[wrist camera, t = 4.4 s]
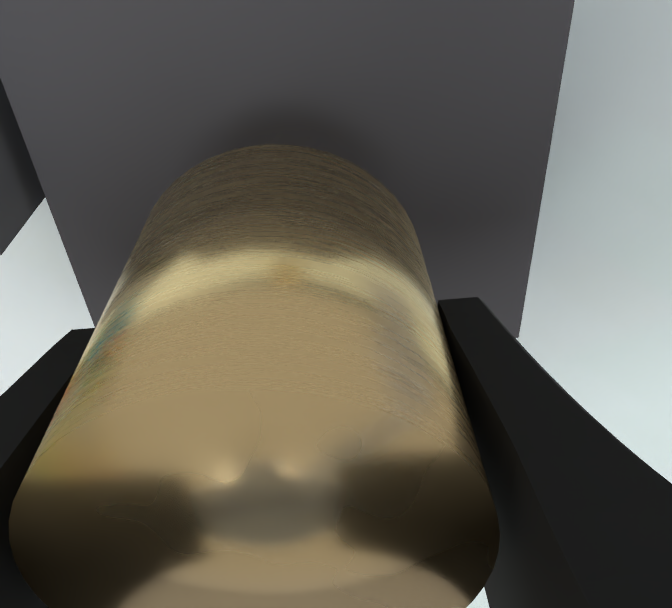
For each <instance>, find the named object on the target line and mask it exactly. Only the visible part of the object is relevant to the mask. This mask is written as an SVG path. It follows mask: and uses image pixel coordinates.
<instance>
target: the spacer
mask: <svg viewBox="0 0 672 608" xmlns="http://www.w3.org/2000/svg"><path fill="white" fill-rule="evenodd" d="M499 540H500V530H499V523H498V516H497V512H496V508H495V505H494V501H493V498H492V494H491V491H490V487H489V484H488V480H487V477H486V473H485V470H484V467H483V463H482V460H481V456H480V453H479V449H478V446H477V442H476V439H475V435H474V432H473V428H472V425H471V421H470V418H469V414H468V411H467V407H466V404H465V401H464V397H463V394H462V390H461V387H460V383H459V380H458V376H457V373H456V369H455V366H454V362H453V359H452V355H451V352H450V348H449V345H448V341H447V338H446V335H445V331H444V328H443V324H442V321H441V317H440V314H439V310H438V307H437V303H436V300H435V296H434V293H433V289H432V286H431V282H430V279H429V275H428V272H427V269H426V265H425V262H424V258H423V255H422V251H421V248H420V244H419V241H418V238H417V235H416V232H415V229H414V227H413V224H412V222H411V220H410V219H409V217H408V215H407V213H406V211H405V209H404V208H403V207H402V205H401V204H400V203H399V201H398V200H397V199H396V197H395V196H394V195H393V194H392V193H391V192H390V191H389V190H388V189H387V188H386V187H385V186H384V185H383V184H382V183H381V182H380V181H379V180H378V179H376V178H375V177H374V176H372V175H371V174H370V173H368V172H367V171H366V170H364V169H363V168H361V167H359V166H357V165H355V164H354V163H352V162H350V161H348V160H346V159H344V158H341V157H339V156H336V155H334V154H331V153H329V152H325V151H322V150H318V149H314V148H310V147H304V146H297V145H290V144H263V145H255V146H246V147H242V148H238V149H234V150H230V151H226V152H224V153H221V154H219V155H216V156H214V157H211V158H209V159H206V160H205V161H203V162H201V163H200V164H198V165H196V166H194V167H193V168H191V169H189V170H188V171H187V172H185V173H184V174H183V175H182V176H180V177H179V178H178V179H177V180H175V181H174V182H173V183H172V184H171V186H170V187H169V188H168V189H167V190H166V191H165V192H164V193H163V194H162V195H161V197H160V198H159V200H158V201H157V203H156V204H155V206H154V207H153V209H152V211H151V213H150V215H149V217H148V219H147V221H146V223H145V225H144V228H143V230H142V232H141V234H140V236H139V238H138V240H137V242H136V244H135V246H134V249H133V251H132V253H131V255H130V257H129V259H128V261H127V263H126V265H125V267H124V269H123V272H122V274H121V276H120V278H119V280H118V282H117V284H116V286H115V288H114V290H113V293H112V295H111V297H110V299H109V301H108V303H107V305H106V307H105V309H104V311H103V313H102V316H101V318H100V320H99V322H98V324H97V326H96V328H95V330H94V332H93V334H92V337H91V339H90V341H89V343H88V345H87V347H86V349H85V351H84V353H83V355H82V358H81V360H80V362H79V364H78V366H77V368H76V370H75V372H74V374H73V376H72V378H71V381H70V383H69V385H68V387H67V389H66V391H65V393H64V395H63V397H62V399H61V402H60V404H59V406H58V408H57V410H56V412H55V414H54V416H53V418H52V420H51V422H50V425H49V427H48V429H47V431H46V433H45V435H44V437H43V439H42V441H41V443H40V446H39V448H38V450H37V452H36V454H35V456H34V458H33V460H32V462H31V464H30V467H29V469H28V471H27V473H26V475H25V477H24V479H23V481H22V483H21V485H20V488H19V490H18V492H17V494H16V496H15V498H14V500H13V504H12V508H11V513H10V518H9V542H10V545H11V549H12V553H13V557H14V560H15V562H16V564H17V566H18V568H19V570H20V572H21V574H22V576H23V578H24V579H25V581H26V582H27V583H28V585H29V586H30V588H31V589H32V590H33V592H34V593H35V594H36V595H37V596H38V597H39V598H40V599H41V600H42V601H43V602H44V603H45V604H46V605H47V606H48V607H49V608H466V607H467V606H468V605H469V604H470V603H471V602H472V601H473V600H474V599H475V597H476V596H477V595H478V594H479V592H480V591H481V590H482V588H483V587H484V586H485V584H486V582H487V580H488V578H489V576H490V574H491V573H492V571H493V569H494V565H495V562H496V559H497V555H498V552H499Z"/></svg>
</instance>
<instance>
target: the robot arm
mask: <svg viewBox="0 0 672 608" xmlns="http://www.w3.org/2000/svg"><path fill="white" fill-rule="evenodd" d="M438 310H439V314H440V317H441V321H442V324H443V328H444V331H445V335H446V338H447V341H448V345H449V348H450V352H451V355H452V359H453V362H454V366H455V369H456V373H457V376H458V380H459V383H460V387H461V390H462V394H463V397H464V401H465V404H466V407H467V411H468V414H469V418H470V421H471V425H472V428H473V432H474V435H475V439H476V442H477V446H478V449H479V453H480V456H481V460H482V463H483V467H484V470H485V473H486V477H487V480H488V484H489V487H490V491H491V494H492V498H493V501H494V505H495V508H496V512H497V516H498V523H499V530H500V540H499V552H498V555H497V559H496V562H495V565H494V569H493V571H492V573H491V574H490V576H489V578H488V580H487V582H486V584H485V586H484V587H485V591H486V595H487V599H488V603H489V607H490V608H672V484H671V483H670V482H669V481H668V480H666V479H665V478H664V477H663V476H661V475H660V474H659V473H657V472H656V471H655V470H654V469H652V468H651V467H650V466H649V465H647V464H646V463H645V462H644V461H643V460H641V459H640V458H639V457H638V456H637V455H635V454H634V453H633V452H632V451H631V450H630V449H628V448H627V447H626V446H625V445H624V444H623V443H621V442H620V441H619V440H618V439H617V438H616V437H614V436H613V435H612V434H611V433H610V432H609V431H608V430H607V429H606V428H605V427H603V426H602V425H601V424H600V423H599V422H598V421H597V420H596V419H595V418H593V417H592V416H591V415H590V414H589V413H588V412H587V411H586V410H585V409H584V408H583V407H582V406H581V405H580V404H579V403H577V402H576V401H575V400H574V399H573V398H572V397H571V396H570V395H569V394H568V393H567V392H566V391H565V390H564V389H563V388H562V387H561V386H560V385H559V384H558V383H557V382H556V381H555V380H554V379H553V378H552V377H551V376H550V375H549V374H548V373H547V372H546V371H545V370H544V369H543V368H542V367H541V366H540V365H539V363H538V362H537V361H536V360H535V359H534V358H533V357H532V356H531V355H530V354H529V353H528V352H527V351H526V350H525V348H524V347H523V346H522V345H521V344H520V343H519V342H518V341H517V340H516V339H515V337H514V336H513V335H512V334H511V333H510V332H509V331H508V330H507V328H506V327H505V326H504V325H503V324H502V323H501V322H500V320H499V319H498V318H497V317H496V316H495V315H494V313H493V312H492V311H491V310H490V309H489V308H488V306H487V305H486V304H485V303H484V302H483V301H482V300H481V299H480V298H479V297H470V298H457V299H445V300H438ZM94 330H95V328H89V329H77V330H71V331H70V332H69V333H68V334H66V335H65V336H64V337H63V338H62V339H61V340H59V341H58V342H57V343H56V344H55V345H54V346H53V347H52V348H51V349H50V350H49V351H47V352H46V353H45V354H44V355H43V356H42V357H41V358H40V359H39V360H38V361H37V362H36V363H35V364H34V365H33V366H32V367H31V368H30V369H29V370H28V371H26V372H25V373H24V374H23V375H22V376H21V377H20V378H19V379H18V380H17V381H16V382H15V383H14V384H13V385H12V386H11V387H10V388H9V389H8V390H7V391H5V392H4V393H3V394H2V395H1V396H0V608H49V607H48V606H47V605H46V604H45V603H44V602H43V601H42V600H41V599H40V598H39V597H38V596H37V595H36V594H35V593H34V592H33V590H32V589H31V588H30V586H29V585H28V583H27V582H26V581H25V579H24V578H23V576H22V574H21V572H20V570H19V568H18V566H17V564H16V562H15V560H14V557H13V553H12V549H11V545H10V542H9V518H10V513H11V508H12V504H13V500H14V498H15V496H16V494H17V492H18V490H19V488H20V485H21V483H22V481H23V479H24V477H25V475H26V473H27V471H28V469H29V467H30V464H31V462H32V460H33V458H34V456H35V454H36V452H37V450H38V448H39V446H40V443H41V441H42V439H43V437H44V435H45V433H46V431H47V429H48V427H49V425H50V422H51V420H52V418H53V416H54V414H55V412H56V410H57V408H58V406H59V404H60V402H61V399H62V397H63V395H64V393H65V391H66V389H67V387H68V385H69V383H70V381H71V378H72V376H73V374H74V372H75V370H76V368H77V366H78V364H79V362H80V360H81V358H82V355H83V353H84V351H85V349H86V347H87V345H88V343H89V341H90V339H91V337H92V334H93V332H94Z"/></svg>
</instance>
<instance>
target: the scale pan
mask: <svg viewBox="0 0 672 608" xmlns="http://www.w3.org/2000/svg"><path fill="white" fill-rule="evenodd" d="M573 6H574V0H0V78H1V81H2V84H3V86H4V89H5V91H6V94H7V97H8V99H9V102H10V105H11V107H12V110H13V113H14V115H15V118H16V120H17V123H18V126H19V128H20V131H21V134H22V136H23V139H24V141H25V144H26V147H27V149H28V152H29V155H30V157H31V160H32V163H33V165H34V168H35V170H36V173H37V176H38V178H39V181H40V184H41V186H42V189H43V192H44V194H45V197H46V199H47V202H48V205H49V207H50V210H51V213H52V215H53V218H54V221H55V223H56V226H57V228H58V231H59V234H60V236H61V239H62V242H63V244H64V247H65V249H66V252H67V255H68V257H69V260H70V263H71V265H72V268H73V271H74V273H75V276H76V278H77V281H78V284H79V286H80V289H81V292H82V294H83V297H84V300H85V302H86V305H87V307H88V310H89V313H90V315H91V318H92V321H93V323H94V326H95V328H96V326H97V324H98V322H99V320H100V318H101V316H102V313H103V311H104V309H105V307H106V305H107V303H108V301H109V299H110V297H111V295H112V293H113V290H114V288H115V286H116V284H117V282H118V280H119V278H120V276H121V274H122V272H123V269H124V267H125V265H126V263H127V261H128V259H129V257H130V255H131V253H132V251H133V249H134V246H135V244H136V242H137V240H138V238H139V236H140V234H141V232H142V230H143V228H144V225H145V223H146V221H147V219H148V217H149V215H150V213H151V211H152V209H153V207H154V206H155V204H156V203H157V201H158V200H159V198H160V197H161V195H162V194H163V193H164V192H165V191H166V190H167V189H168V188H169V187H170V186H171V184H172V183H173V182H174V181H175V180H177V179H178V178H179V177H180V176H182V175H183V174H184V173H185V172H187V171H188V170H189V169H191V168H193V167H194V166H196V165H198V164H200V163H201V162H203V161H205V160H206V159H209V158H211V157H214V156H216V155H219V154H221V153H224V152H226V151H230V150H234V149H238V148H242V147H246V146H255V145H263V144H290V145H297V146H304V147H310V148H314V149H318V150H322V151H325V152H329V153H331V154H334V155H336V156H339V157H341V158H344V159H346V160H348V161H350V162H352V163H354V164H355V165H357V166H359V167H361V168H363V169H364V170H366V171H367V172H368V173H370V174H371V175H372V176H374V177H375V178H376V179H378V180H379V181H380V182H381V183H382V184H383V185H384V186H385V187H386V188H387V189H388V190H389V191H390V192H391V193H392V194H393V195H394V196H395V197H396V199H397V200H398V201H399V203H400V204H401V205H402V207H403V208H404V209H405V211H406V213H407V215H408V217H409V219H410V220H411V222H412V224H413V227H414V229H415V232H416V235H417V238H418V241H419V244H420V248H421V251H422V255H423V258H424V262H425V265H426V269H427V272H428V275H429V279H430V282H431V286H432V289H433V293H434V296H435V300H436V303H437V307H438V300H445V299H457V298H470V297H479V298H480V299H481V300H482V301H483V302H484V303H485V304H486V305H487V306H488V308H489V309H490V310H491V311H492V312H493V313H494V315H495V316H496V317H497V318H498V319H499V320H500V322H501V323H502V324H503V325H504V326H505V327H506V328H507V330H508V331H509V332H510V333H511V334H512V335H513V336H514V337H515V338H518V337H519V331H520V325H521V319H522V313H523V307H524V301H525V295H526V289H527V283H528V277H529V271H530V265H531V259H532V253H533V247H534V241H535V235H536V229H537V223H538V217H539V211H540V205H541V199H542V193H543V187H544V181H545V175H546V169H547V163H548V157H549V151H550V145H551V139H552V133H553V127H554V121H555V115H556V109H557V103H558V97H559V91H560V85H561V79H562V73H563V67H564V61H565V55H566V49H567V43H568V37H569V31H570V24H571V18H572V12H573Z"/></svg>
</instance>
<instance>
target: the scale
mask: <svg viewBox="0 0 672 608" xmlns="http://www.w3.org/2000/svg"><path fill="white" fill-rule="evenodd" d="M44 198H45V194H44V192H43V189H42V186H41V184H40V181H39V178H38V176H37V173H36V170H35V168H34V165H33V163H32V160H31V157H30V155H29V152H28V149H27V147H26V144H25V141H24V139H23V136H22V134H21V131H20V128H19V126H18V123H17V120H16V118H15V115H14V113H13V110H12V107H11V105H10V102H9V99H8V97H7V94H6V91H5V89H4V86H3V84H2V81H1V78H0V255H2V253H3V252H4V251H5V249H6V248H7V247H8V246H9V244H10V243H11V242H12V240H13V239H14V238H15V236H16V235H17V234H18V232H19V231H20V230H21V228H22V227H23V226H24V224H25V223H26V222H27V220H28V219H29V218H30V216H31V215H32V214H33V212H34V211H35V210H36V208H37V207H38V206H39V204H40V203H41V202H42V200H43V199H44Z"/></svg>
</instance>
